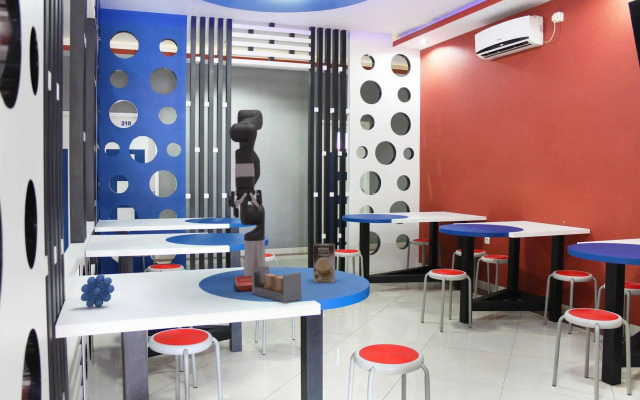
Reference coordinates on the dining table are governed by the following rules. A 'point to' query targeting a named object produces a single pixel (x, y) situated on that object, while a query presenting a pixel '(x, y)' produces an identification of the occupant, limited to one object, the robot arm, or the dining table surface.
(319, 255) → the coffee box
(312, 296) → the dining table surface
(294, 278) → the grey desk caddy
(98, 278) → the blue knobby flower
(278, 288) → the door panel
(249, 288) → the plant saucer
